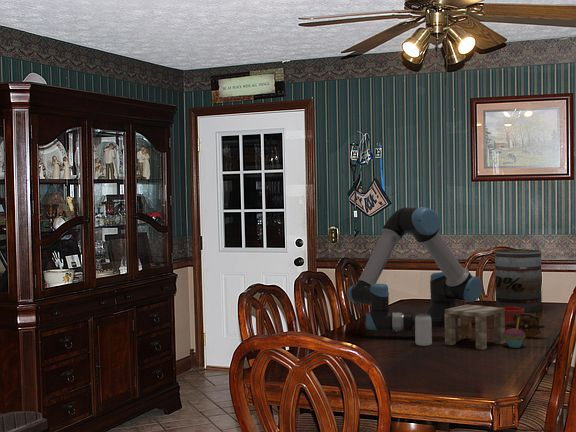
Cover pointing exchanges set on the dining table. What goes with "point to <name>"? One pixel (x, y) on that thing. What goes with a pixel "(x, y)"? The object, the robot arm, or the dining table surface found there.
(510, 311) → the flower pot
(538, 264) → the barrel
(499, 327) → the stool
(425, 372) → the dining table surface
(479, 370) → the dining table surface
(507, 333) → the cupcake
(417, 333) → the can
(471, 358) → the dining table surface
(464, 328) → the gate leg
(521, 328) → the wooden carving
